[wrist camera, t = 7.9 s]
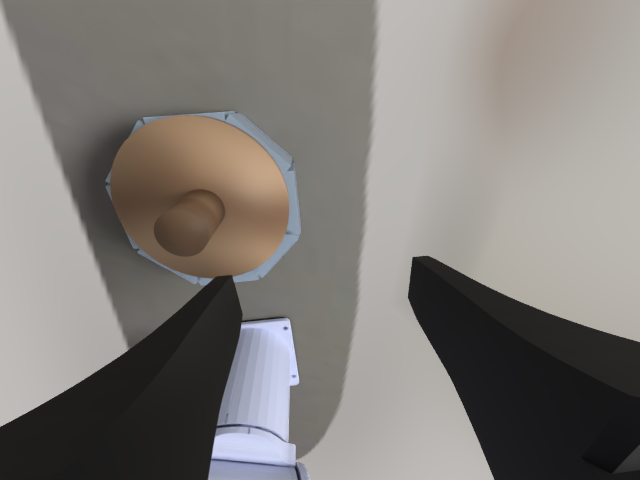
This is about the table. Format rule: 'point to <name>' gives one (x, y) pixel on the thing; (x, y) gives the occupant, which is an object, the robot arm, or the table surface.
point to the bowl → (289, 176)
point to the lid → (200, 196)
